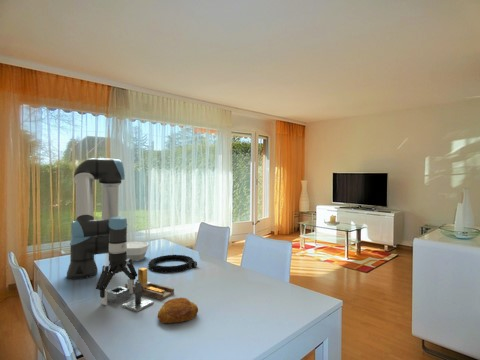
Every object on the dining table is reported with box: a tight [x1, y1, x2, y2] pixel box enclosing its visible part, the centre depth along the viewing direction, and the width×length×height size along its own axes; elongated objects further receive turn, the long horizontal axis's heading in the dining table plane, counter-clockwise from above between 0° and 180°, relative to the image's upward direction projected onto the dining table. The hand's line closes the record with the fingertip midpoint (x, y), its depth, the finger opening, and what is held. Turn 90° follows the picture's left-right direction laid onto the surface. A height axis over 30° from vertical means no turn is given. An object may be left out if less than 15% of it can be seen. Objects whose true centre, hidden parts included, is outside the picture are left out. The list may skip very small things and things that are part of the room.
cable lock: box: [148, 254, 198, 273], centre depth 180 cm, size 28×4×30 cm
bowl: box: [126, 241, 150, 262], centre depth 194 cm, size 18×18×9 cm
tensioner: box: [134, 267, 164, 293], centre depth 140 cm, size 16×5×9 cm, turn 61°
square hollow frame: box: [107, 285, 130, 304], centre depth 132 cm, size 7×7×4 cm
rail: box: [124, 279, 175, 301], centre depth 141 cm, size 24×8×2 cm, turn 61°
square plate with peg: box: [121, 280, 154, 313], centre depth 126 cm, size 9×9×10 cm
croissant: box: [157, 297, 199, 324], centre depth 117 cm, size 14×16×8 cm
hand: (117, 298), depth 132 cm, fingers open, 13 cm apart
